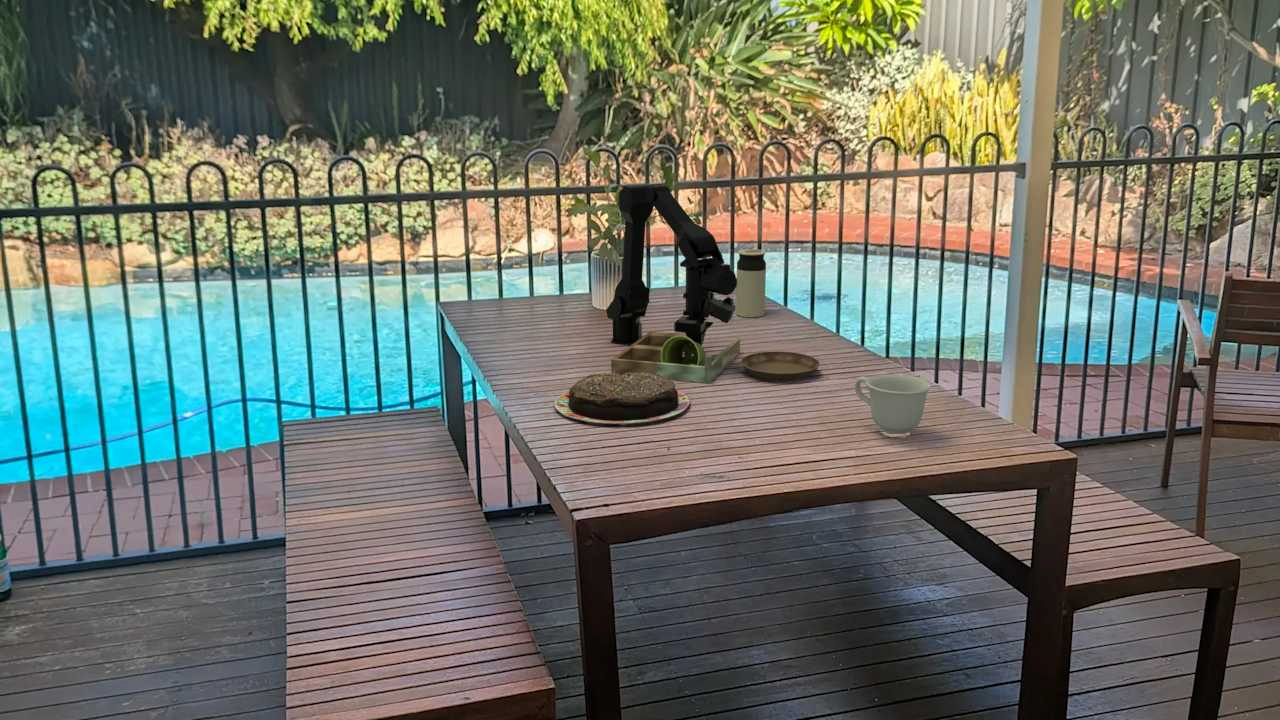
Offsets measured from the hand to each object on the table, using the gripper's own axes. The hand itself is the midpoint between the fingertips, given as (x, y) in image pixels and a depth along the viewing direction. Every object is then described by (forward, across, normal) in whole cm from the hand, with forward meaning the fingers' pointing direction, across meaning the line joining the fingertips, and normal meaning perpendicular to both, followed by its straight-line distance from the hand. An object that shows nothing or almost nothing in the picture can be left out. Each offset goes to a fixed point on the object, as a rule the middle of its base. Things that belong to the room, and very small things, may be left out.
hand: (697, 353), depth 253 cm
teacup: (+3, -35, -48) cm, 59 cm away
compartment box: (+3, 0, +5) cm, 5 cm away
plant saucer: (+3, -1, -20) cm, 20 cm away
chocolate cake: (+3, -35, +6) cm, 36 cm away
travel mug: (+3, +55, 0) cm, 55 cm away
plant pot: (0, -2, 0) cm, 2 cm away
